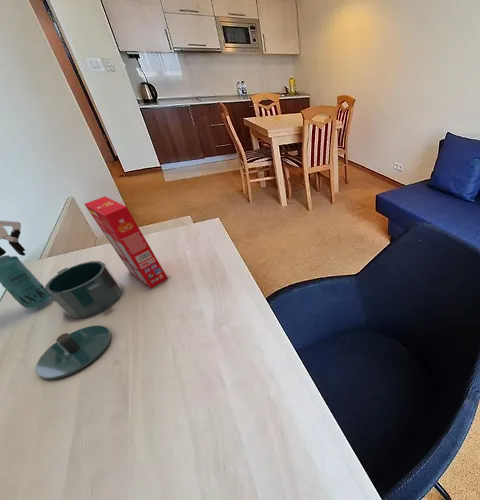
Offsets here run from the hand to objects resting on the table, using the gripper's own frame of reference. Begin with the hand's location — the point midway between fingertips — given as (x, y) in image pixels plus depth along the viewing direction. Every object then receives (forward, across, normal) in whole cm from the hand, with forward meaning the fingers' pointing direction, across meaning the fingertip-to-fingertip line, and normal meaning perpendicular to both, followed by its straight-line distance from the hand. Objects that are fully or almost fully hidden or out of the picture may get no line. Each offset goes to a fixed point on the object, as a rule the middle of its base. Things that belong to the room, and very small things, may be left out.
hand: (2, 263), depth 80 cm
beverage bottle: (+16, 0, 0) cm, 16 cm away
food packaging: (+16, -22, +19) cm, 33 cm away
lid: (+15, +4, +31) cm, 35 cm away
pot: (+16, -8, +15) cm, 23 cm away
